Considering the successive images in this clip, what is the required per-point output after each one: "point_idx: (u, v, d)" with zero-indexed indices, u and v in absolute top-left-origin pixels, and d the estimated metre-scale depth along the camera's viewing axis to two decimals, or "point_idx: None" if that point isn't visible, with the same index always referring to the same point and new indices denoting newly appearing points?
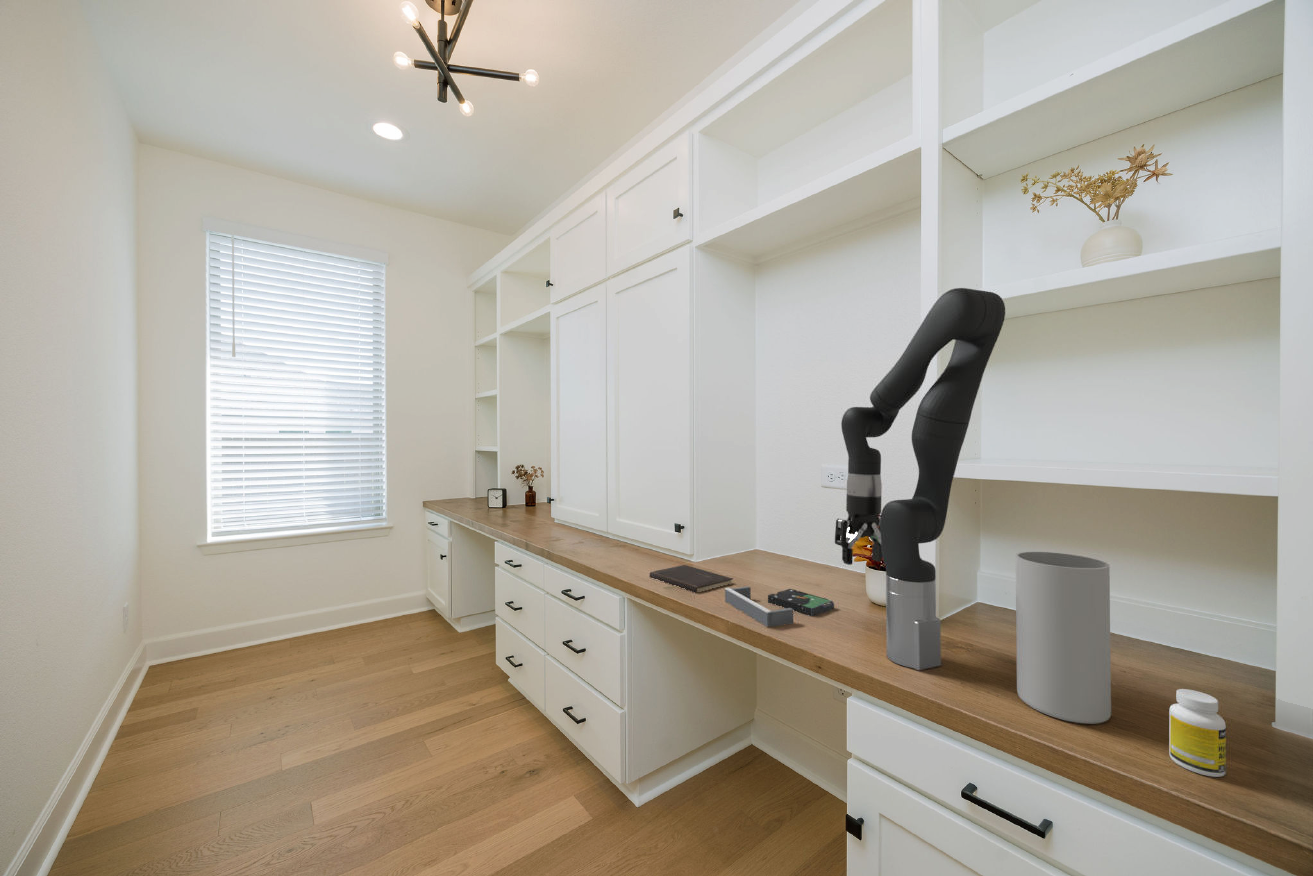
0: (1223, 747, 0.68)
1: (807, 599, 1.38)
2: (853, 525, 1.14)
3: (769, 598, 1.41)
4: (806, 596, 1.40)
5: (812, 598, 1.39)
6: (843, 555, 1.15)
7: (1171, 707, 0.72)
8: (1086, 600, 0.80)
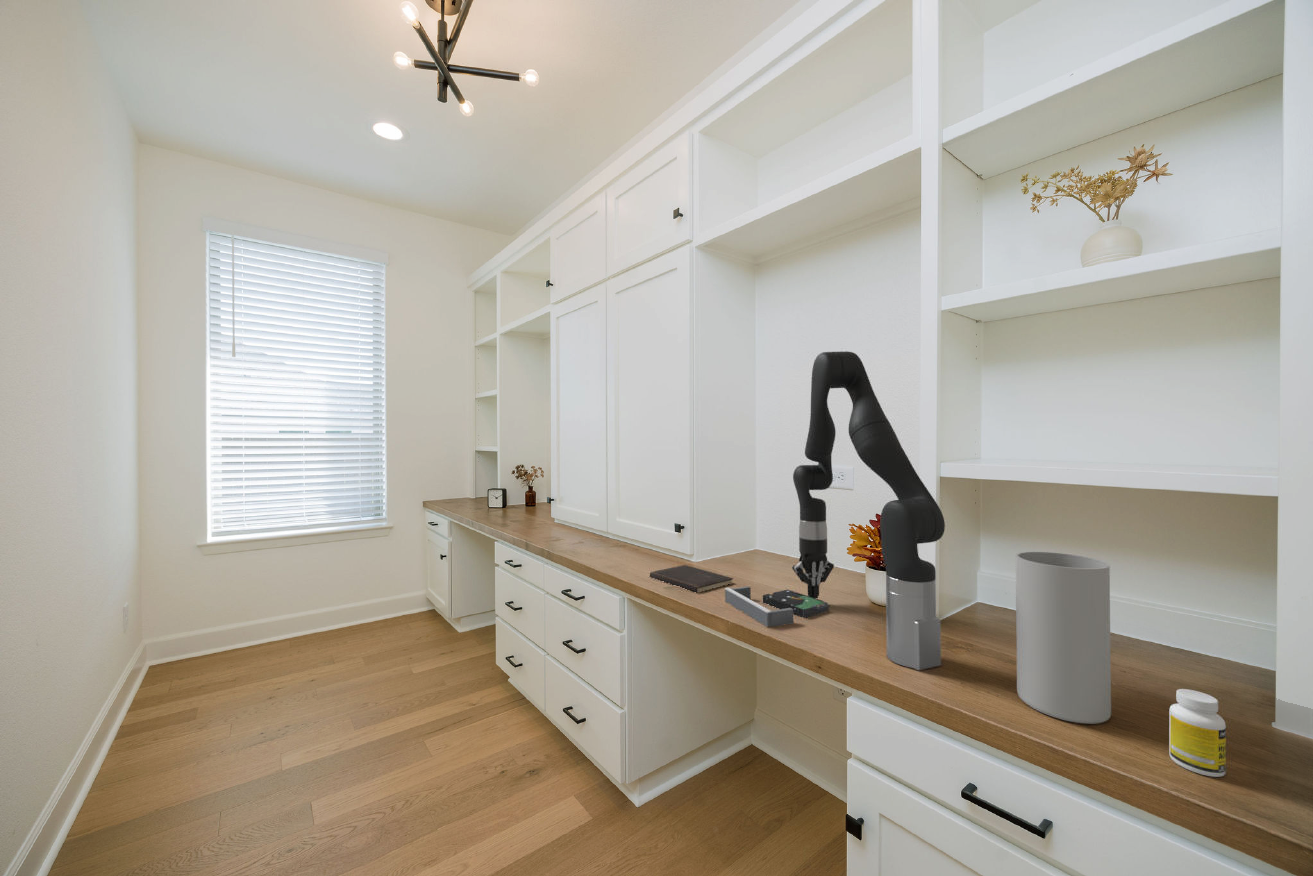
0: (1223, 747, 0.68)
1: (801, 600, 1.36)
2: (805, 564, 1.39)
3: (764, 598, 1.41)
4: (801, 597, 1.39)
5: (807, 599, 1.37)
6: (808, 591, 1.40)
7: (1171, 707, 0.72)
8: (1086, 600, 0.80)
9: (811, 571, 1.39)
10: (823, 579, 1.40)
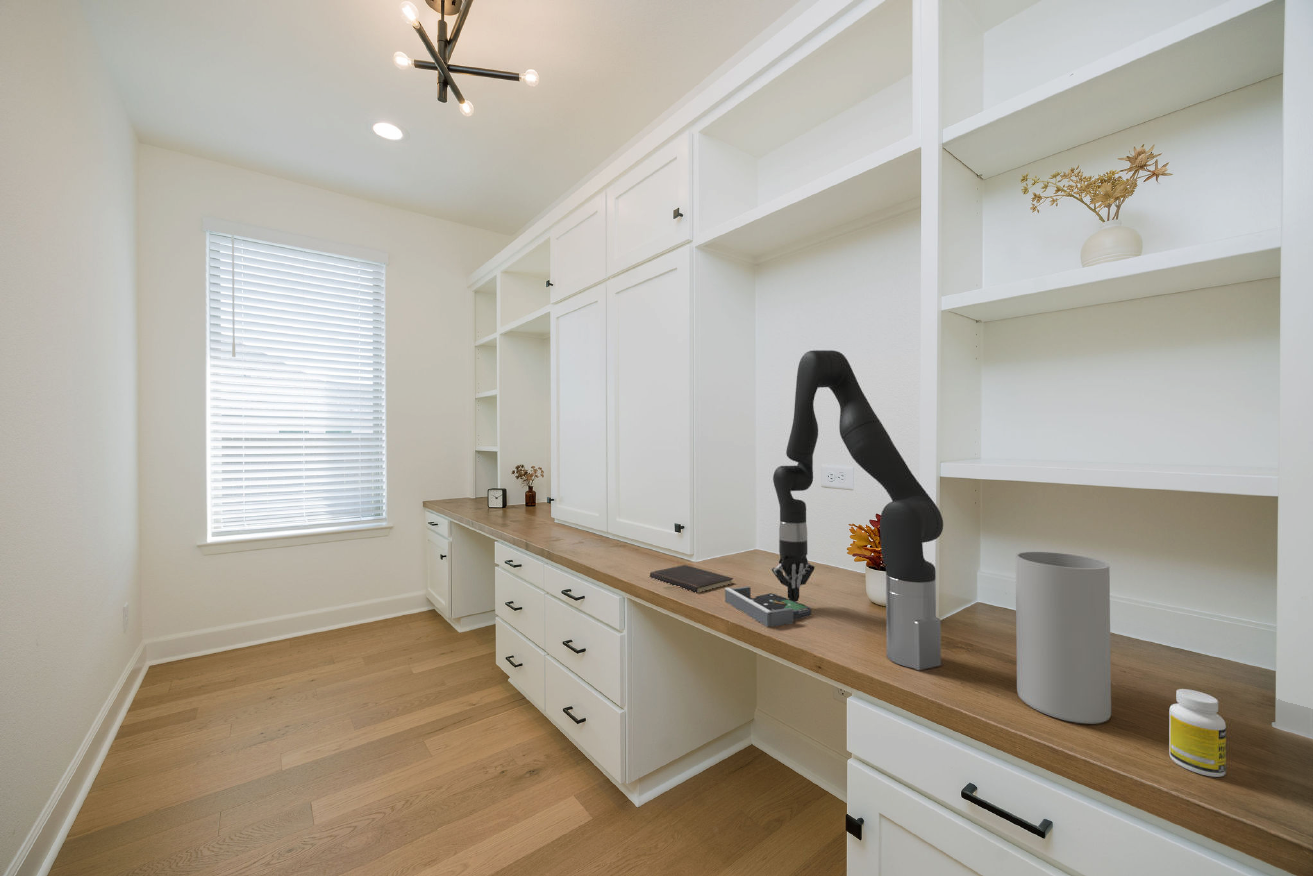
0: (1223, 747, 0.68)
1: (783, 604, 1.33)
2: (785, 566, 1.36)
3: None
4: (784, 601, 1.36)
5: (789, 603, 1.34)
6: (788, 593, 1.38)
7: (1171, 707, 0.72)
8: (1086, 600, 0.80)
9: (791, 573, 1.36)
10: (803, 582, 1.38)
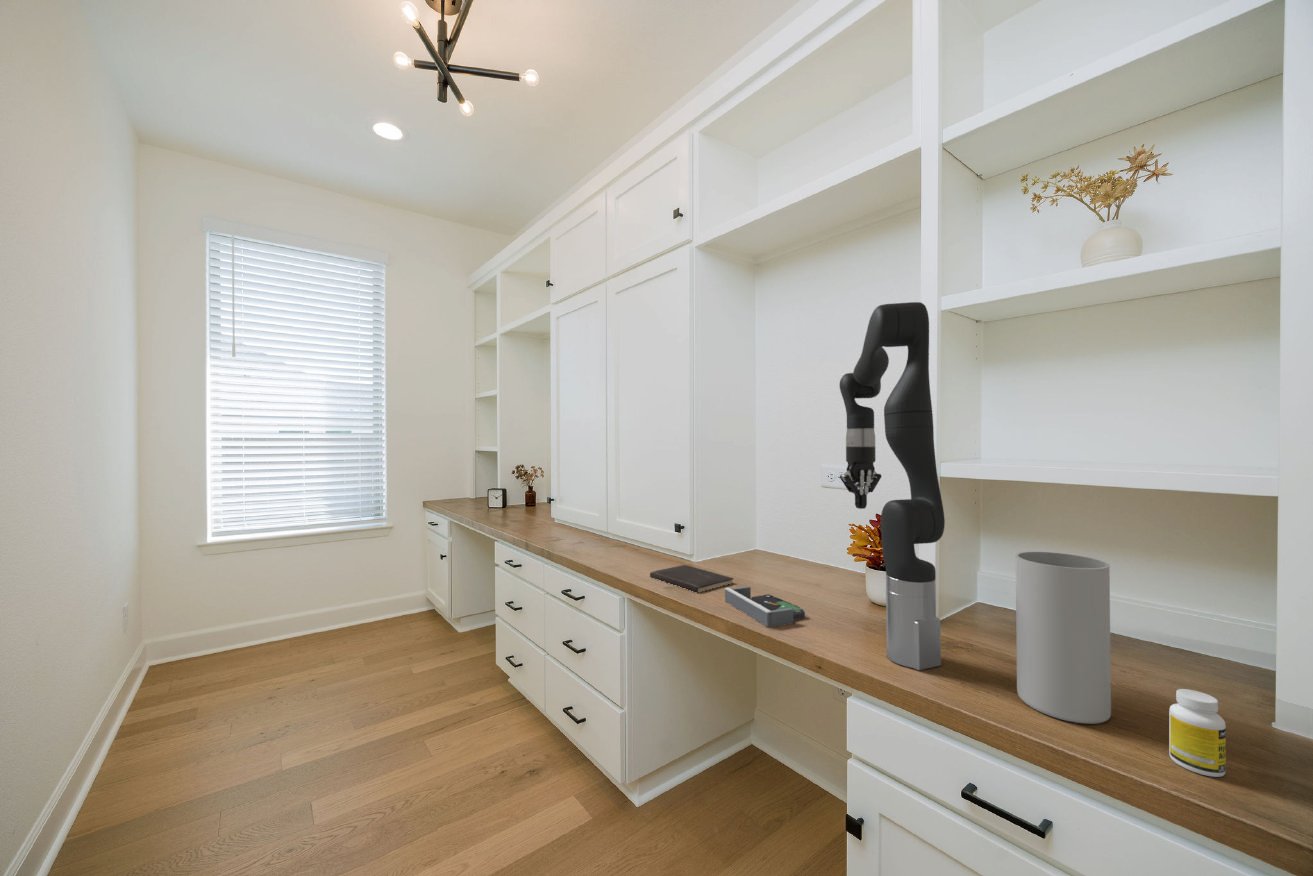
0: (1223, 747, 0.68)
1: (777, 606, 1.32)
2: (854, 472, 1.36)
3: None
4: (779, 603, 1.35)
5: (783, 605, 1.33)
6: (856, 501, 1.38)
7: (1171, 707, 0.72)
8: (1086, 600, 0.80)
9: (859, 480, 1.36)
10: (871, 489, 1.38)
